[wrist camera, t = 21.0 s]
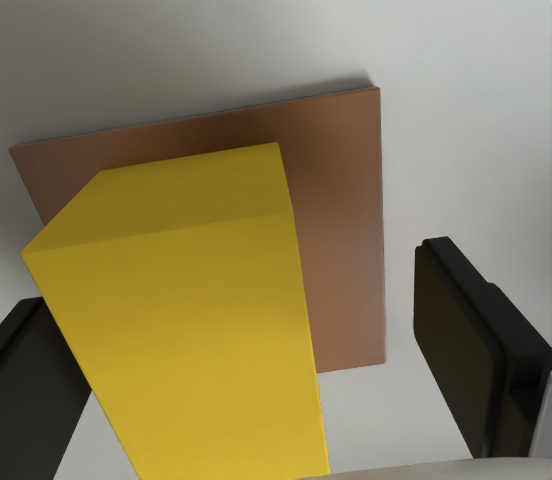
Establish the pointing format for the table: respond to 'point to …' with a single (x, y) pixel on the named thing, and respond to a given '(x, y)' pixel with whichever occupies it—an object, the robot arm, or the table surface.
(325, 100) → the cork mat
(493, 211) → the table surface
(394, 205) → the table surface
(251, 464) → the sponge
